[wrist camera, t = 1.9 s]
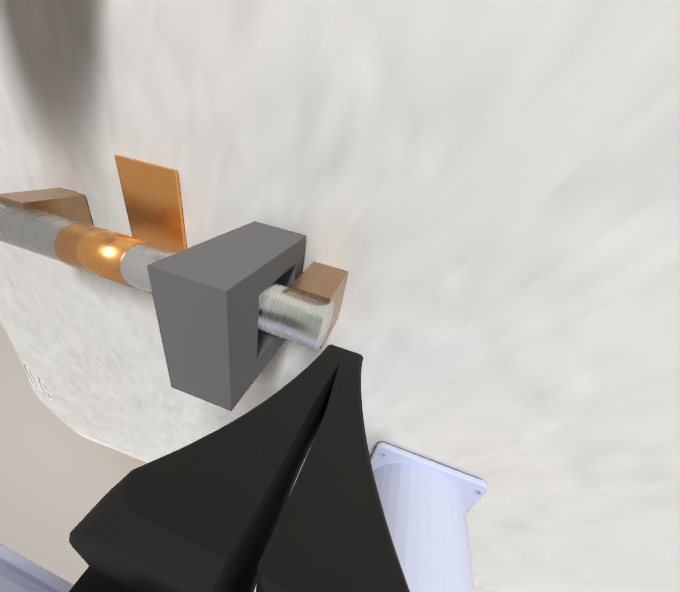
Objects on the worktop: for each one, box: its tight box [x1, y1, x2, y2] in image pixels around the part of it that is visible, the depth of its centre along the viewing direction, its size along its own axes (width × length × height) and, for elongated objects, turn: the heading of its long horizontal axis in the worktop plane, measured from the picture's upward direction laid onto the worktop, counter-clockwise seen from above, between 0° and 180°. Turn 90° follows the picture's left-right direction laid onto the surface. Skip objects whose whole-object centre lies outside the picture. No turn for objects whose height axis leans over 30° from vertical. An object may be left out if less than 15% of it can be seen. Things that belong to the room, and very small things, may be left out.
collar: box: [147, 221, 306, 411], centre depth 13 cm, size 3×6×7 cm, turn 169°
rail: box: [0, 155, 348, 349], centre depth 15 cm, size 20×9×4 cm, turn 79°
